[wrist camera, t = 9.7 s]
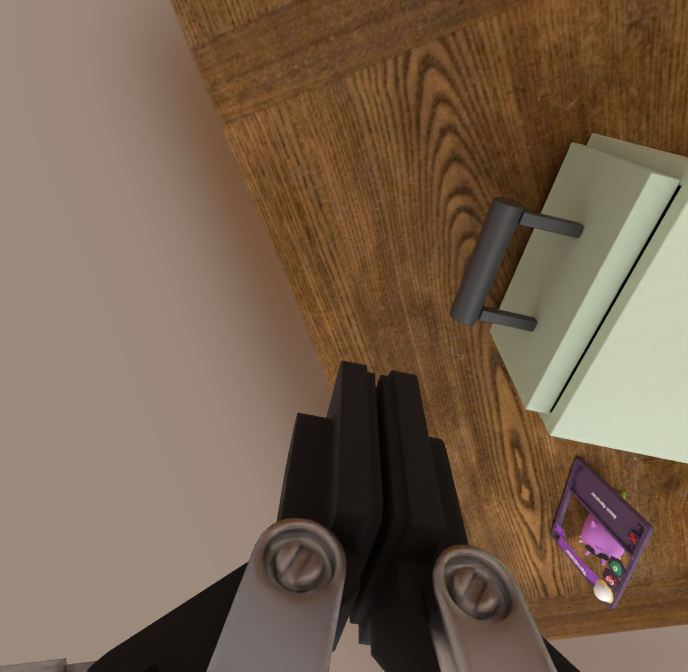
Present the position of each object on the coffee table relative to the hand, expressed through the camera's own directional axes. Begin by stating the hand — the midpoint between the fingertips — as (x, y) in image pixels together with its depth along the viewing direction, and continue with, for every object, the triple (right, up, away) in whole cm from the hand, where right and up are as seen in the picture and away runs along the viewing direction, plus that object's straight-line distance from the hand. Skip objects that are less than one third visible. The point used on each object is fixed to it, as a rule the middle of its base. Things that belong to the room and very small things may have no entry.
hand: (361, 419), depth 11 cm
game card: (+20, -11, +27) cm, 35 cm away
